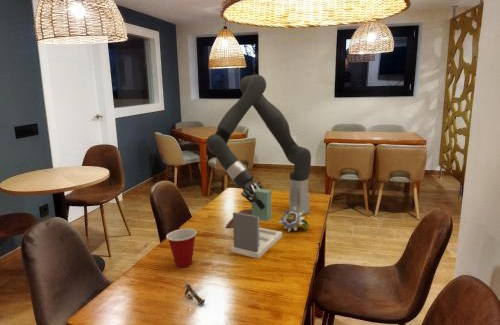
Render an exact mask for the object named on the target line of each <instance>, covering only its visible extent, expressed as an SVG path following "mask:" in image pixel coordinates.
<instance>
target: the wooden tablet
mask: <svg viewBox="0 0 500 325" xmlns="http://www.w3.org/2000/svg"><path fill="white" fill-rule="evenodd" d="M238 213H242V214H248V215H252V209H242V210H240V211H239V212H238ZM225 228H226V229H230V230H231V229H233V218H232V219H231V220H230V221H229V222H228V223H227V224H226V225H225Z"/></svg>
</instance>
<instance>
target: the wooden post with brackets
mask: <svg viewBox="0 0 500 325" xmlns="http://www.w3.org/2000/svg"><path fill="white" fill-rule="evenodd" d="M185 288H186V290H185V291H184V296H187V299H189V298H190V299H189V300H191V299H192V300H191V301H193V300H194V299H195V300H196V301H197V303H198V306H201V305H203V304H205V302H206V299H205V298H204V299H202V298H201V297H200V296H199V295H198V293H197V292H196V291H195V289H193V288H192V285H191V284H190V283H185ZM189 292H190V293H189ZM202 303H203V304H202ZM200 304H201V305H200Z"/></svg>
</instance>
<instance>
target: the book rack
mask: <svg viewBox="0 0 500 325" xmlns="http://www.w3.org/2000/svg"><path fill="white" fill-rule="evenodd" d="M232 219H233V228H232V229H233V231H232V232H233V245H232V246H231V248H230V252H231V253H235V254H239V255H243V256H247V257H251V258H254V259H260V258H261V257H262V256H263V255H265V253H266V252H268V251H269V249H271V248H272V247H273V246H274V245H275V244H276V243H277V242H278V241H279V240H280V239H282V237H283V231H280V230H275V229H274V230H273V229H268V228H263V227H260V220H259V217H258V216H254V215H248V214H242V213H239V212H236V211H235V212H233V213H232Z"/></svg>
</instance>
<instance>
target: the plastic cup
mask: <svg viewBox="0 0 500 325" xmlns="http://www.w3.org/2000/svg"><path fill="white" fill-rule="evenodd" d="M196 235H197V231H196V230H195V229H193V228H180V229H177V230H176V229H175V230H173V231H171V232H169V233H167V234H166V237H165V238H166V239H167V240H168V243H169V245H170V250H171V254H172V257H173V261H174V264H175V266H176V267H177V268H187V267H189V266H191V265H192V262H193V255H194V248H195V247H194V246H195V242H196V240H195V239H196Z"/></svg>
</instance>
